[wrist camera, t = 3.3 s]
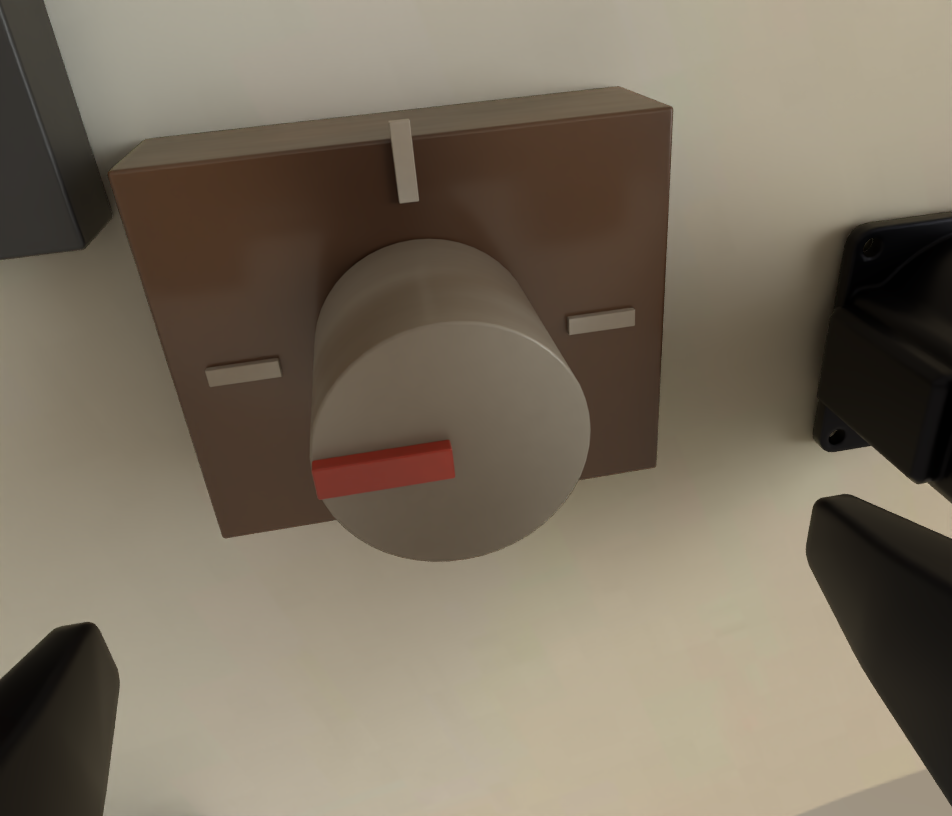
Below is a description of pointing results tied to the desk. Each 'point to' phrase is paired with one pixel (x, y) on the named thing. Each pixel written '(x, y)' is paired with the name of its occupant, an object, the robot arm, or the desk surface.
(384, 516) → the dial
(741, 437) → the desk surface
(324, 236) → the dial panel
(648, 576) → the desk surface
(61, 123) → the orange button panel
